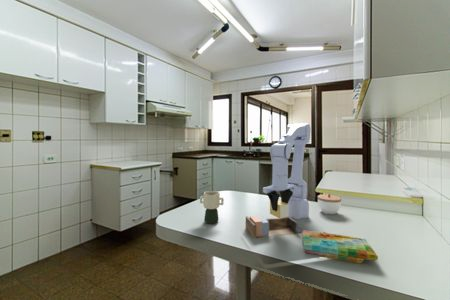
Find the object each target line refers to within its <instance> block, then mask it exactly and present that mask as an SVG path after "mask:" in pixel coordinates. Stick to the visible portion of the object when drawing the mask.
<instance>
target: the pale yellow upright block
mask: <svg viewBox="0 0 450 300" xmlns="http://www.w3.org/2000/svg"><path fill="white" fill-rule="evenodd" d="M269 215H272V216H274V217H275V218H285V217H288V204H287V203H285V202H282V201H281V200H279V199H278V208H277V211H274V210H272V206H271V202H269Z"/></svg>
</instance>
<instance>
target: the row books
mask: <svg viewBox="0 0 450 300" xmlns="http://www.w3.org/2000/svg"><path fill="white" fill-rule="evenodd" d="M249 218H250V219H251V220H252V221H253V222H254V223H255V224H256V237H258V236H268V235H269V222H268V221H267V220H266V219H267V218H265V217H264V216H258V215H252V216H249Z"/></svg>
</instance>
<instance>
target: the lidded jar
mask: <svg viewBox="0 0 450 300" xmlns="http://www.w3.org/2000/svg"><path fill="white" fill-rule="evenodd" d="M341 204H342V198H341V197H340V196H336V195H332V194H331V193H327V194H318V195H317V205H318V207H319V209H320V211H321V212H322V213H323V214H324V215H335V214H336V213H337V212H339V211H340V208H341Z"/></svg>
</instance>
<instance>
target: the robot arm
mask: <svg viewBox="0 0 450 300" xmlns="http://www.w3.org/2000/svg"><path fill="white" fill-rule="evenodd" d="M310 140H311V125H310V124H309V123H307V122H306V123H294V124H293V123H288V124H287V127H286V134H283V135H282V136H281V137H280V139H279V140H278V141H277V143H273V144H272V145H271V146H270V151H269V155H270V159H271V164H272V173H271V174H272V175H271V176H272V177H271V179H272V182H271V185H268V186H264V187H262V193H264V194H266V196H267V197H268V198H269V201H270V202H271V206H272V210H274V211H277V208H278V200H279V199H280V201H282V202H285V203H287V204H288V217H294V220H300V219H304V218H309V217H310V216H309V214H310V213H309V212H310V205H309V201H308V199H307V196H308V183H307V182H306V181H305V180H304V179H303V178H302V175H303V166H304V156H305V148H306V144H309V142H310ZM293 146H294V147H293ZM292 148H293V154H292V155H293V156H292V165H291V173H290V177H289V172H288V171H289V159H290V157H291V152H292ZM288 177H289V178H288ZM278 192H279V193H278ZM270 202H269V203H270Z"/></svg>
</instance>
